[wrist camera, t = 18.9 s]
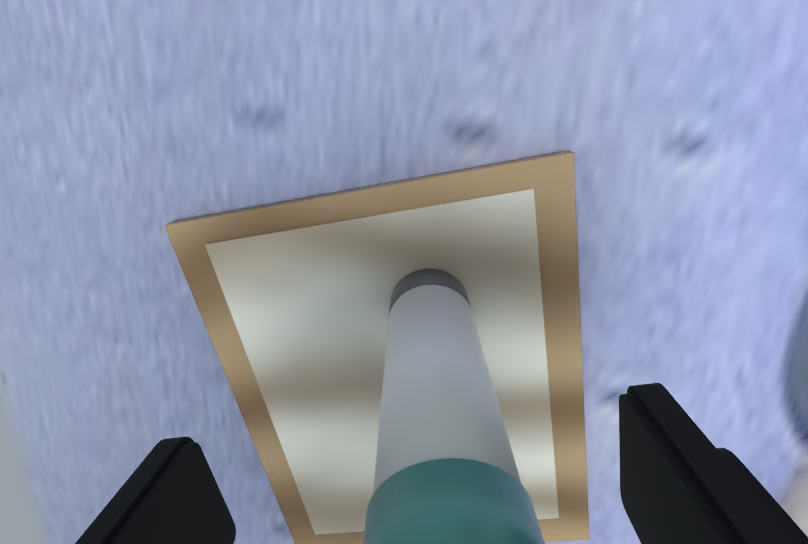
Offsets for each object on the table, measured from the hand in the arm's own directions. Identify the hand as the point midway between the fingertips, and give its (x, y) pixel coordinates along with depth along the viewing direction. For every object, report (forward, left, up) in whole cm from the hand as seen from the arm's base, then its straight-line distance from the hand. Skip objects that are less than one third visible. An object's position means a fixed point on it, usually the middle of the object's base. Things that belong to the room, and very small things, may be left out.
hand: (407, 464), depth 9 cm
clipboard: (-5, +2, -9) cm, 11 cm away
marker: (0, 0, -9) cm, 9 cm away
